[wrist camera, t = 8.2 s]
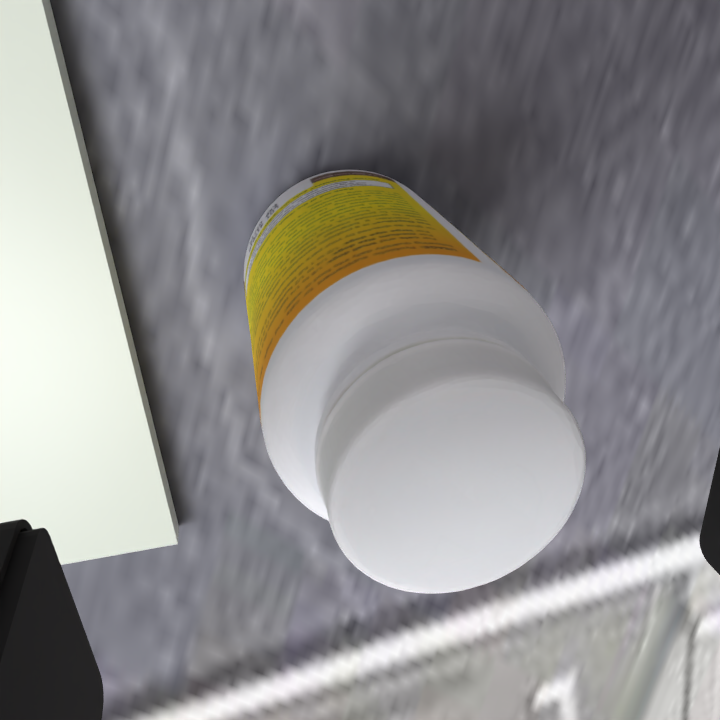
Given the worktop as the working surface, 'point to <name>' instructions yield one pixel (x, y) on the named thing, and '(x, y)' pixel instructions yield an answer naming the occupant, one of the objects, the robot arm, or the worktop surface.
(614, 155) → the worktop surface
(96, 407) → the sage mat
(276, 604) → the worktop surface
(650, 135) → the worktop surface
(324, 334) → the supplement bottle
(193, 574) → the worktop surface
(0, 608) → the robot arm
